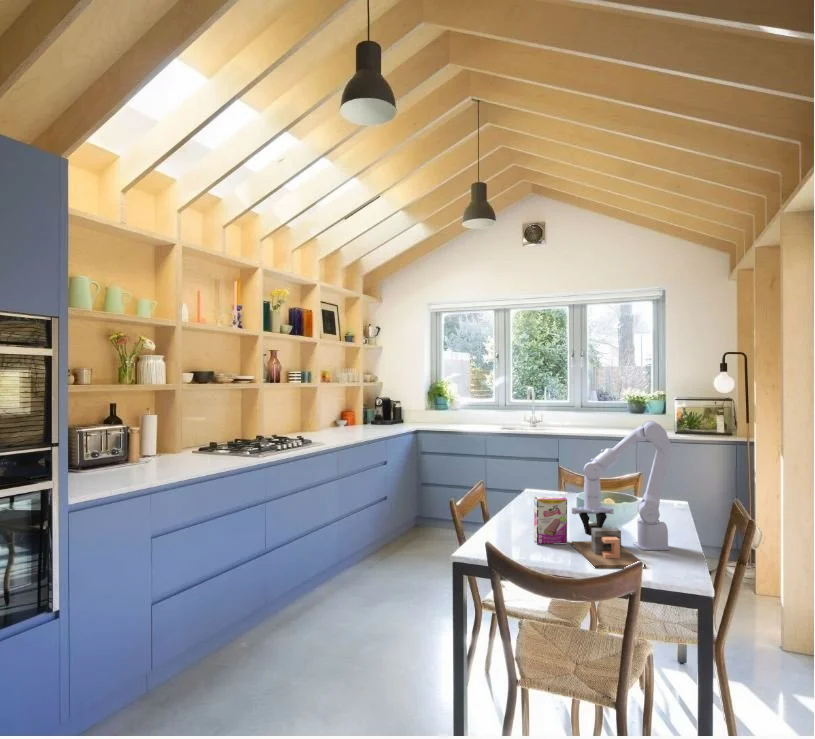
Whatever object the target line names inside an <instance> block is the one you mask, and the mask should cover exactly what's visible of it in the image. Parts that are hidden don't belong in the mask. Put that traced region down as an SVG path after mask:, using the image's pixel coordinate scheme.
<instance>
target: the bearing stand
mask: <svg viewBox="0 0 815 739" xmlns="http://www.w3.org/2000/svg"><path fill="white" fill-rule="evenodd" d="M601 537H617V538H618V539H620V558H604V557H603V556H602V551H611V544H610V545H605V544H604V543H603V541H602V540H601ZM590 538H591V540H589V541H588V540H587V541H586V540H583V541H577V540H576V541H573V540H572V541H571V545H572V544H573V545H574V546H575V547H576V548H577V549H576V548H575V547H574V546H573V545H572V546H573V547H574V548H575V549H576V551H577V552H579V553H580V554H582V555H583V556H584V557H585V558H586V559H587V560H588V561H589V562H590V563H591V564H592V565H593V566H594V567H595V568H594V567H593V566H592V565H591V564H590V563H589V562H588V561H587V560H586V559H585V558H584V557H583V556H582V555H581V556H582V557H583V558H584V559H585V560H586V561H587V562H588V563H589V564H590V565H591V566H592V567H593V568H594V569H625V568H624V567H626V566H628V565H631V564H633V563H635V562H637V561H641V559H639V558H638V557H637V556H636V555H635V554H633V553H632V552H631V551H629V550H628V549H627V548H625V547H624V546H623V545H622V530H620V529H619V528H618V527H602V528H591V537H590ZM644 567H645V568H644V569H647V565H646V564H645V563H644Z"/></svg>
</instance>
